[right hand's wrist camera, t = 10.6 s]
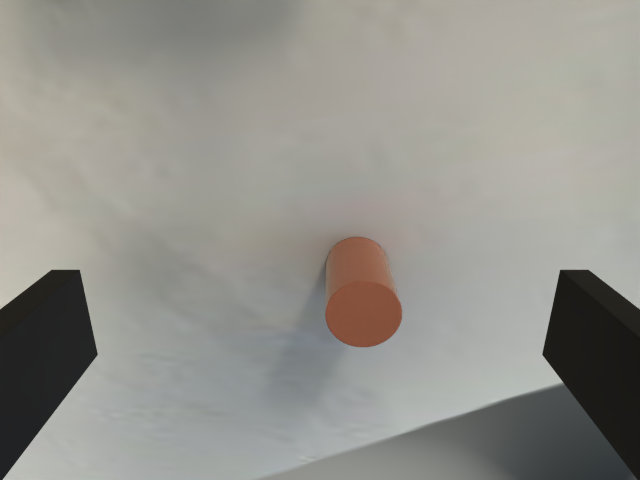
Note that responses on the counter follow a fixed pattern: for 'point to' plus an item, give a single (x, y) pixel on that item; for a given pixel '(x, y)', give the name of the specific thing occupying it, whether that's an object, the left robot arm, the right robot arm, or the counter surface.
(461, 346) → the counter surface
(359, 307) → the terracotta cylinder
